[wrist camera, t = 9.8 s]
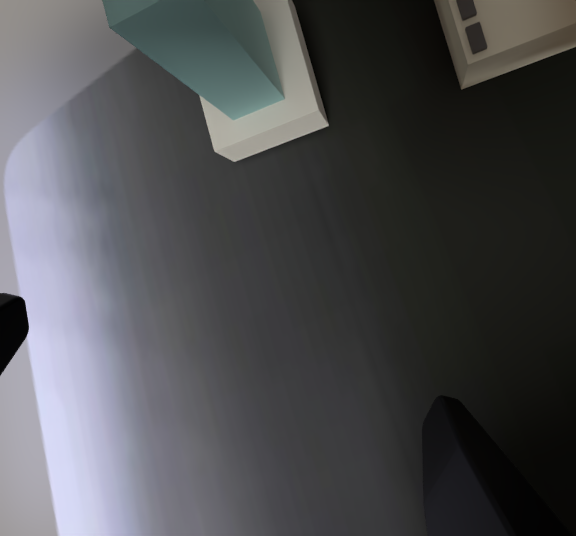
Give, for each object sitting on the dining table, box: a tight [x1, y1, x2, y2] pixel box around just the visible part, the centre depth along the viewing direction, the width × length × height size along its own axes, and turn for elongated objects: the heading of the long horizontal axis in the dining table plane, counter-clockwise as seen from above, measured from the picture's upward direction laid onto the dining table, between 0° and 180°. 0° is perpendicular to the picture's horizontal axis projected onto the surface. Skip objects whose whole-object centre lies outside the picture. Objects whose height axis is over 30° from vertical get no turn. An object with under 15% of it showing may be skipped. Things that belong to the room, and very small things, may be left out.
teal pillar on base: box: [102, 0, 329, 162], centre depth 16 cm, size 5×6×10 cm
